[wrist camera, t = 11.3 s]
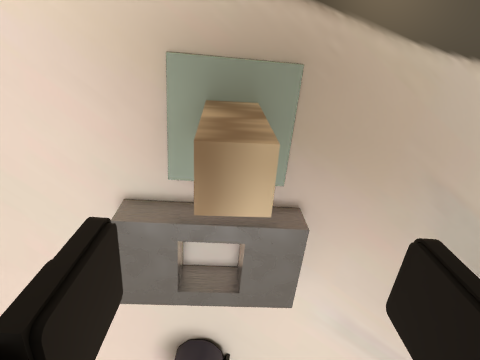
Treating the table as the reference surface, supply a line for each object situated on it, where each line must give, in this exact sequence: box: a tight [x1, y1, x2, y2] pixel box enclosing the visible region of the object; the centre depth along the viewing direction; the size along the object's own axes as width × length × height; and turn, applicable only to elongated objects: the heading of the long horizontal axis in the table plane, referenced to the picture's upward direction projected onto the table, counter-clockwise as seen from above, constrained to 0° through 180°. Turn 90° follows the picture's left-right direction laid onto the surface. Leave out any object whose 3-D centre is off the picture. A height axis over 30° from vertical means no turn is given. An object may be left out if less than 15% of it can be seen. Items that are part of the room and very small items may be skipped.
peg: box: [194, 100, 280, 217], centre depth 19 cm, size 4×4×10 cm
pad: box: [166, 52, 304, 186], centre depth 24 cm, size 10×10×1 cm
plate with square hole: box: [111, 199, 309, 308], centre depth 28 cm, size 16×9×4 cm, turn 85°
